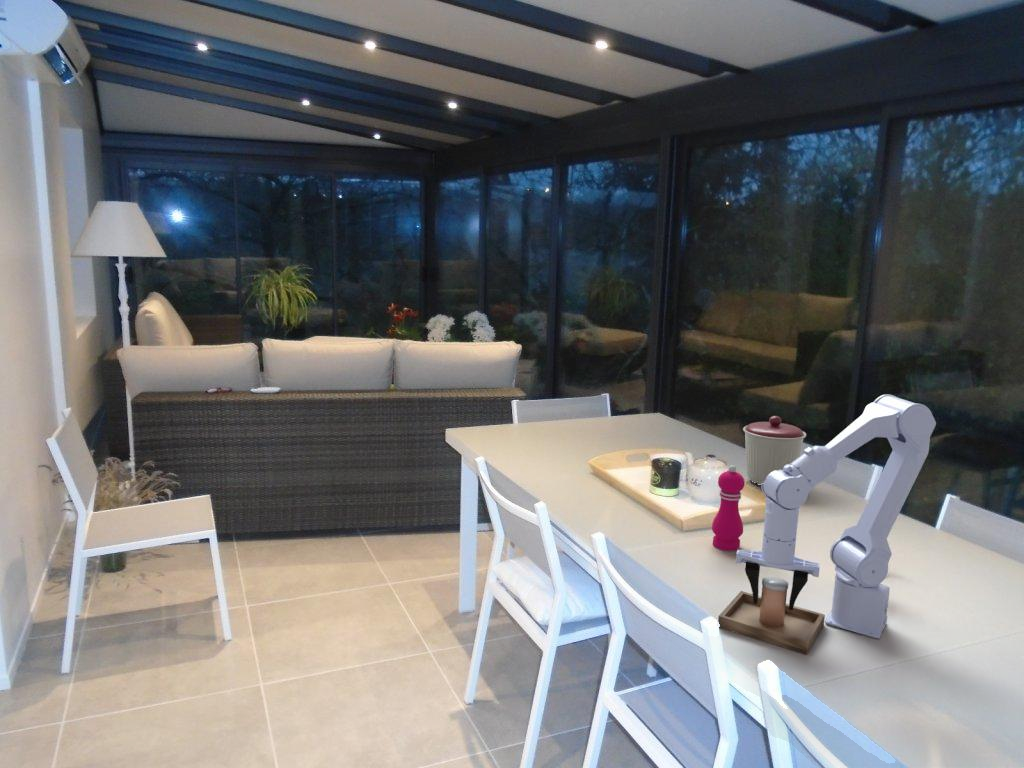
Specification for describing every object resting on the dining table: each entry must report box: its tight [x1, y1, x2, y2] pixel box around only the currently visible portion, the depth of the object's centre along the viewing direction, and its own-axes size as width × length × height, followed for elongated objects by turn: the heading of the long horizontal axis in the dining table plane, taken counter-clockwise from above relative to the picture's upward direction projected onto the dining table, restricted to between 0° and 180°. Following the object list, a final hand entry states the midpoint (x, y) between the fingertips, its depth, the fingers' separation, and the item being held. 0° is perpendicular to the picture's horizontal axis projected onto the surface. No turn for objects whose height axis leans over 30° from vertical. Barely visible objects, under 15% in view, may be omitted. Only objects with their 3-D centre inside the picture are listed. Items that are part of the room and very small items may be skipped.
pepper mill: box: [711, 464, 745, 552], centre depth 175 cm, size 7×7×20 cm
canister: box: [742, 415, 807, 485], centre depth 224 cm, size 18×18×21 cm
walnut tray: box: [717, 590, 826, 656], centre depth 139 cm, size 16×13×2 cm
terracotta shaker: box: [759, 576, 789, 627], centre depth 138 cm, size 5×5×8 cm
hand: (773, 604), depth 138 cm, fingers open, 6 cm apart
